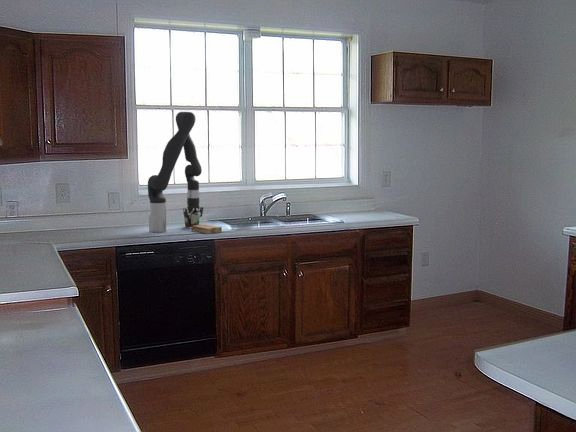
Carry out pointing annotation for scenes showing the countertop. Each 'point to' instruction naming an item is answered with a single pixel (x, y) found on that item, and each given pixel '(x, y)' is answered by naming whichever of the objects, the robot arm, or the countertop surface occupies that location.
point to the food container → (193, 219)
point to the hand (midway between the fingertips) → (193, 224)
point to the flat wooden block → (207, 228)
